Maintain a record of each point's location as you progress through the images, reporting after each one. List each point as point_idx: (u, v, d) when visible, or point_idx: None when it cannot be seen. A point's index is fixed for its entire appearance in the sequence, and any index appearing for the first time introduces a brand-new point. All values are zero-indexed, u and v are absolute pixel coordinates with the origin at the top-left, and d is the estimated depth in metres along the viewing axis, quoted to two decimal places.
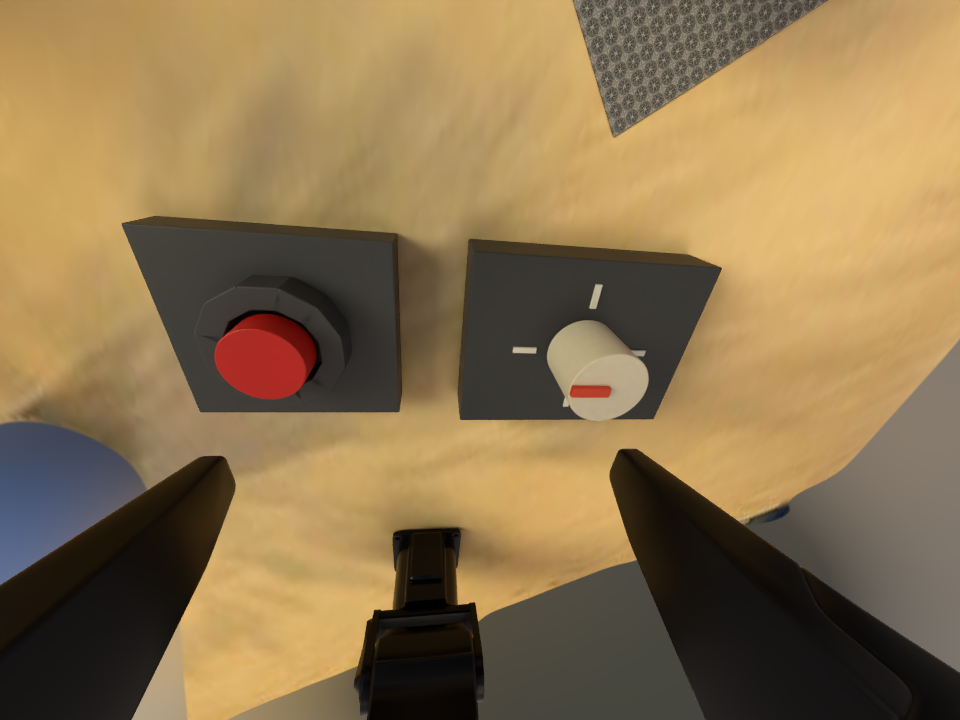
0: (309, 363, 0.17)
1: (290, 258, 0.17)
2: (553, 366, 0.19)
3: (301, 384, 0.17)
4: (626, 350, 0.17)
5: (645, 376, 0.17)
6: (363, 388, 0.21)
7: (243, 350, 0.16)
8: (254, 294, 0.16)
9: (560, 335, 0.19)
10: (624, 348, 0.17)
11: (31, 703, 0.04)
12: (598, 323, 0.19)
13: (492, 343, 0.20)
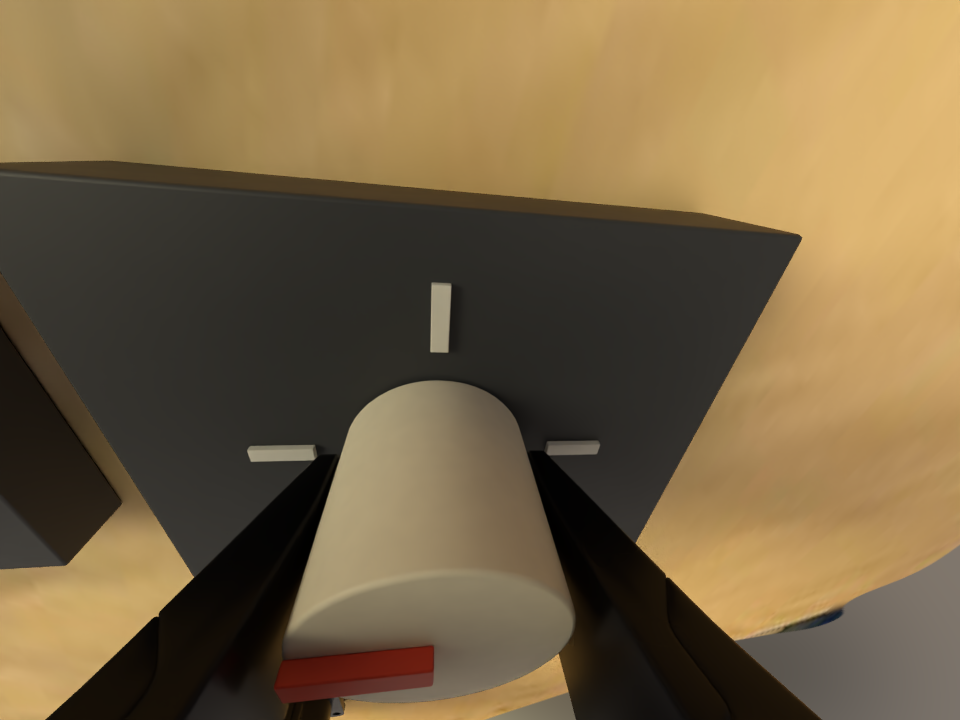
0: None
1: None
2: None
3: None
4: (483, 531, 0.04)
5: (561, 614, 0.05)
6: None
7: None
8: None
9: (356, 423, 0.07)
10: (482, 517, 0.05)
11: (245, 681, 0.04)
12: (458, 391, 0.07)
13: (186, 441, 0.07)
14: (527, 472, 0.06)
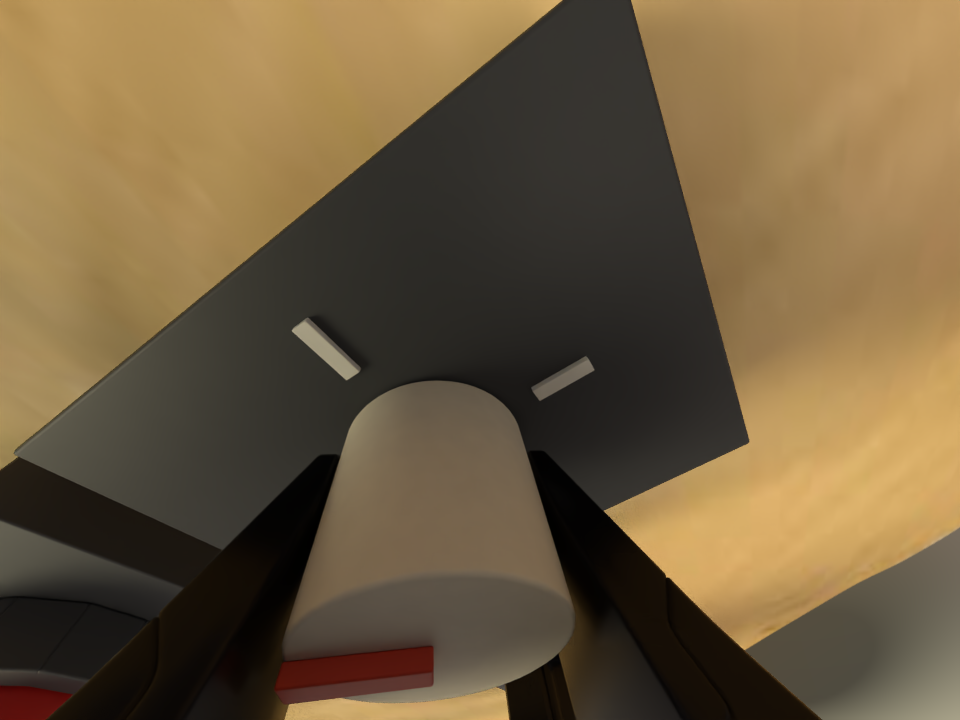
0: None
1: None
2: None
3: None
4: (480, 531, 0.04)
5: (560, 613, 0.05)
6: None
7: None
8: None
9: (354, 424, 0.07)
10: (478, 517, 0.05)
11: (245, 681, 0.04)
12: (456, 391, 0.07)
13: None
14: (526, 471, 0.06)
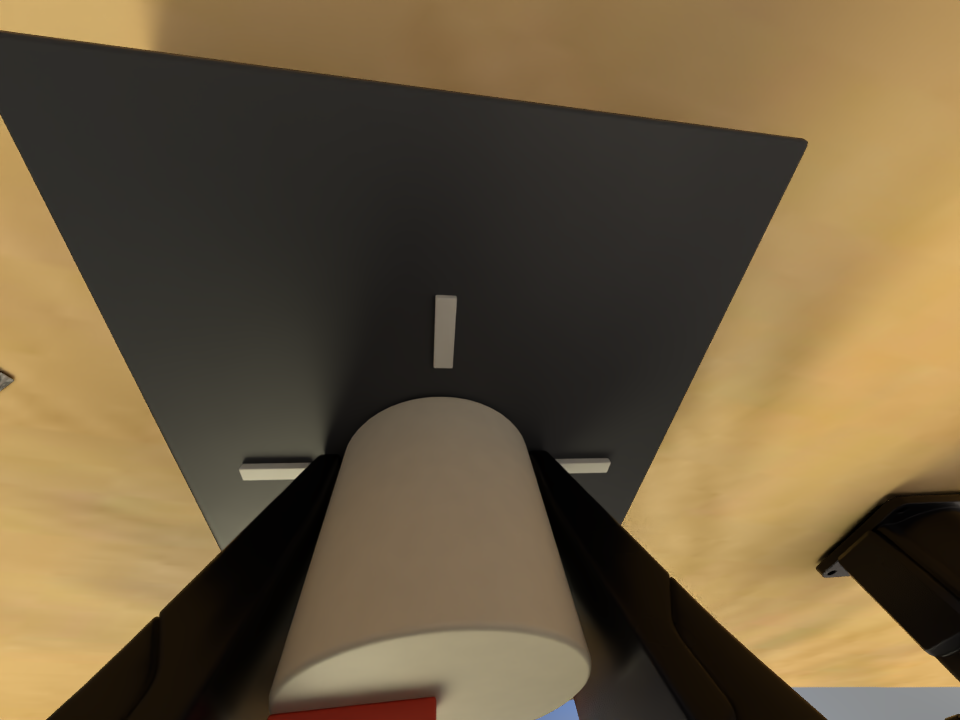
0: None
1: None
2: None
3: None
4: (492, 575, 0.04)
5: (576, 663, 0.04)
6: None
7: None
8: None
9: (354, 441, 0.07)
10: (490, 557, 0.04)
11: (245, 681, 0.04)
12: (463, 409, 0.07)
13: None
14: (536, 498, 0.06)
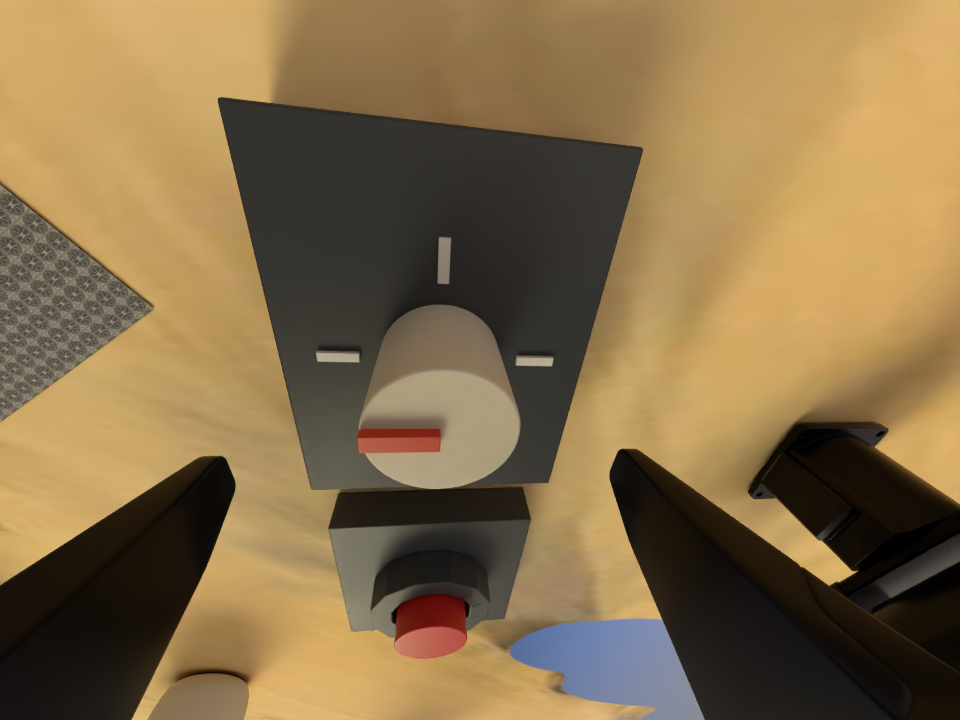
0: (433, 616, 0.18)
1: (359, 578, 0.20)
2: None
3: (451, 628, 0.18)
4: (467, 359, 0.08)
5: (510, 410, 0.09)
6: (493, 543, 0.20)
7: (415, 649, 0.19)
8: (377, 620, 0.20)
9: (389, 331, 0.11)
10: (466, 355, 0.09)
11: (31, 703, 0.04)
12: (455, 310, 0.11)
13: None
14: (497, 354, 0.10)
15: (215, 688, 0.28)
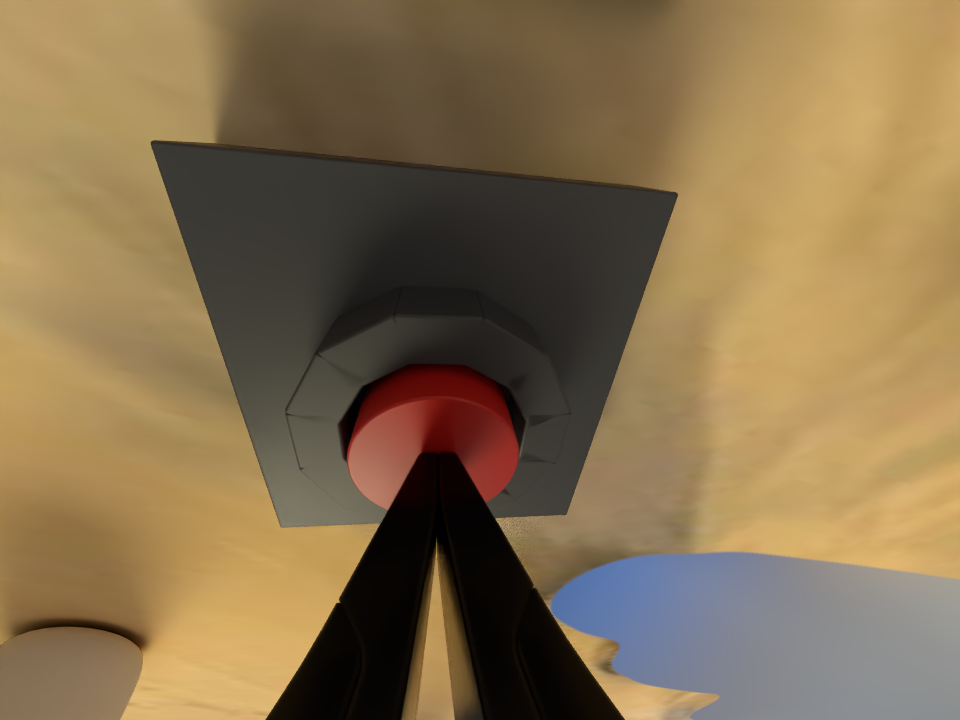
0: (441, 383, 0.07)
1: (271, 367, 0.09)
2: None
3: (486, 410, 0.07)
4: None
5: None
6: (579, 278, 0.09)
7: (398, 483, 0.08)
8: (308, 448, 0.08)
9: None
10: None
11: (415, 663, 0.05)
12: None
13: None
14: None
15: (69, 649, 0.17)
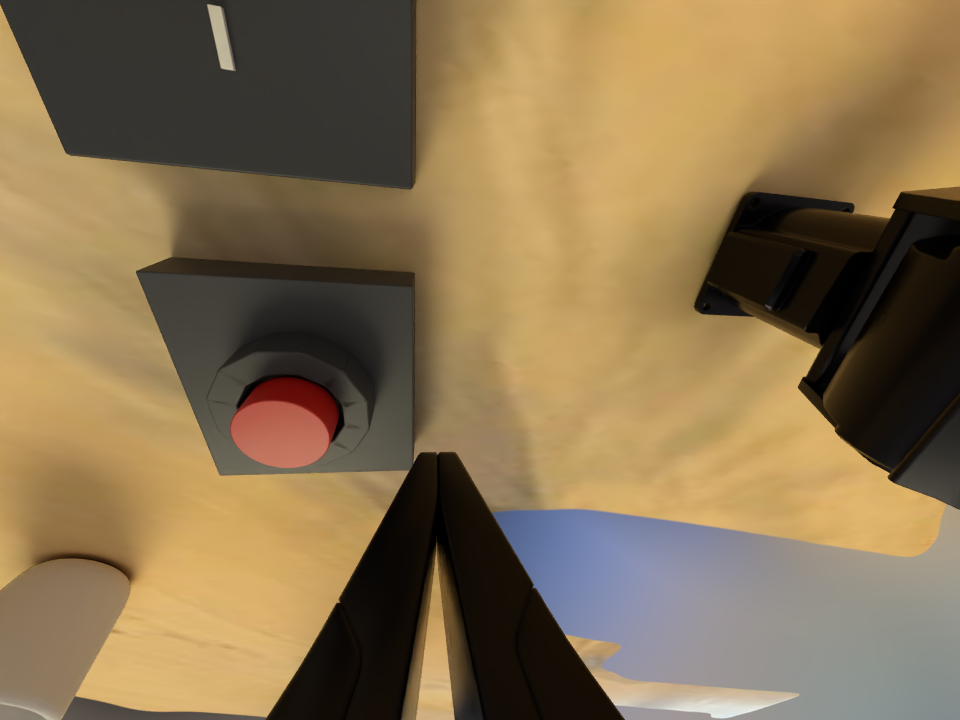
0: (278, 392, 0.14)
1: (204, 375, 0.16)
2: None
3: (300, 406, 0.14)
4: None
5: None
6: (371, 327, 0.16)
7: (262, 446, 0.15)
8: (221, 419, 0.16)
9: None
10: None
11: (415, 663, 0.05)
12: None
13: (229, 117, 0.11)
14: None
15: (77, 571, 0.24)
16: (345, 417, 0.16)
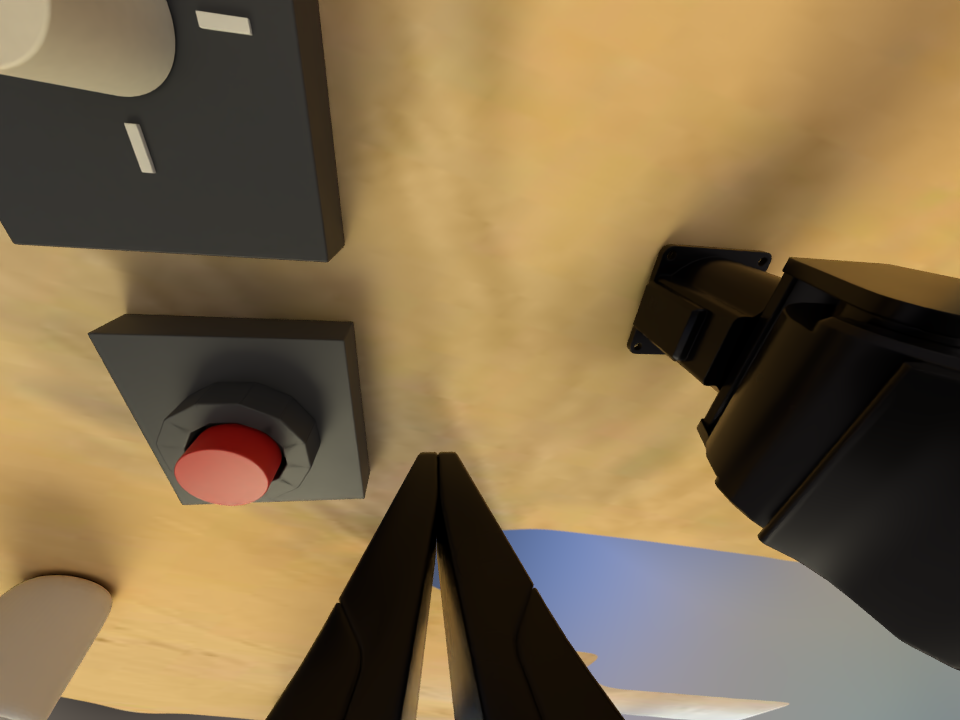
0: (217, 441, 0.16)
1: (158, 419, 0.18)
2: None
3: (237, 454, 0.16)
4: None
5: None
6: (309, 376, 0.17)
7: (206, 488, 0.16)
8: (172, 461, 0.17)
9: None
10: None
11: (415, 663, 0.05)
12: None
13: (154, 210, 0.12)
14: None
15: (60, 588, 0.25)
16: (286, 458, 0.18)
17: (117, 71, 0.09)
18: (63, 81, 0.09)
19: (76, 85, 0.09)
